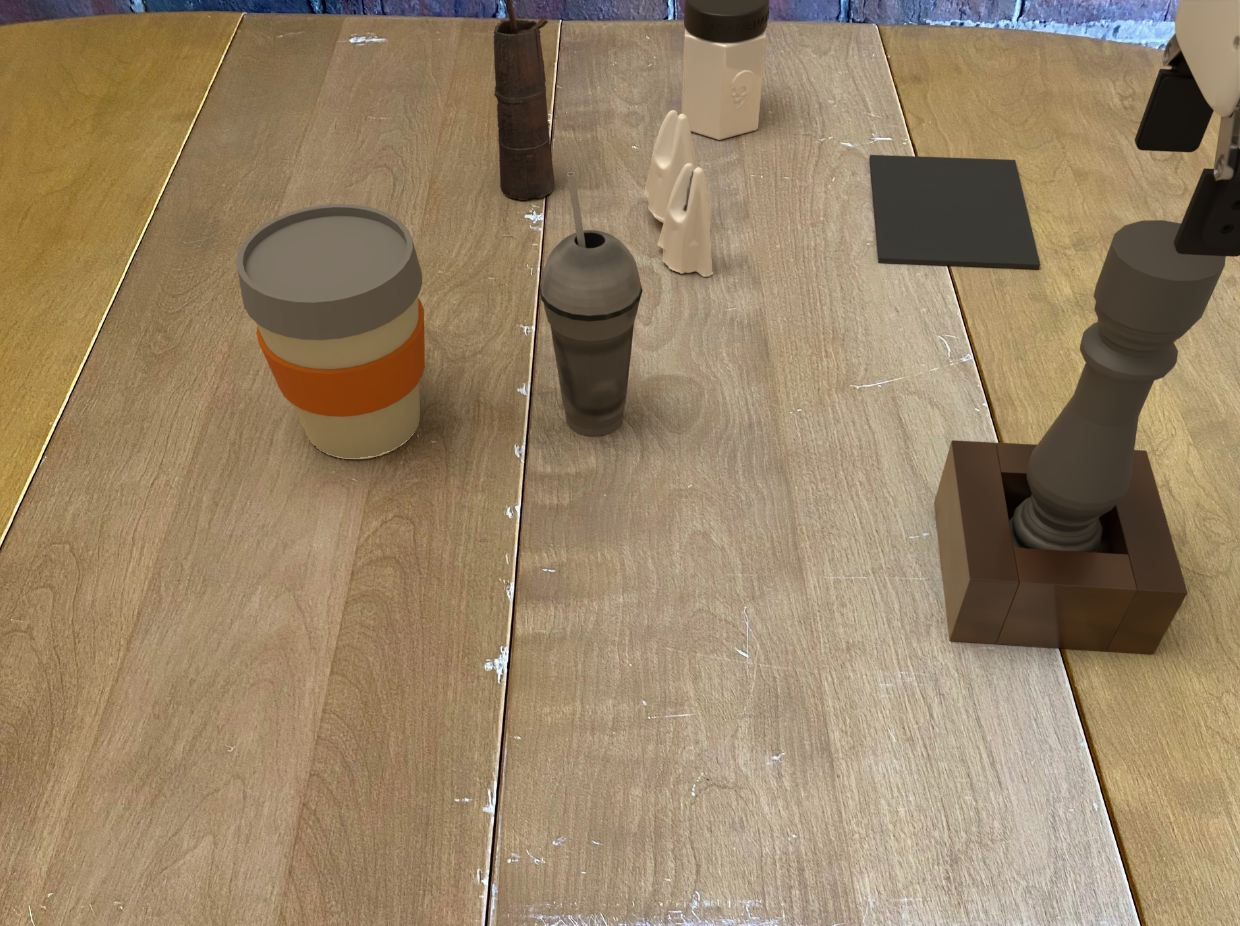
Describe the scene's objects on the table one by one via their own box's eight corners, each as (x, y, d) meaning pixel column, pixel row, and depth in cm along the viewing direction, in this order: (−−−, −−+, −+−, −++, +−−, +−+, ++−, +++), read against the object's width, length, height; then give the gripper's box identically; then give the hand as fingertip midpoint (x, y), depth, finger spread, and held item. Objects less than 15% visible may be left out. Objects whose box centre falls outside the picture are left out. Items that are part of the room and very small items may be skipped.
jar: (701, 147, 118) (707, 23, 108) (662, 112, 122) (665, -10, 113) (777, 126, 120) (790, 3, 111) (736, 93, 125) (746, -29, 116)
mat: (1014, 164, 115) (1015, 159, 114) (1039, 269, 103) (1040, 264, 103) (869, 159, 116) (869, 154, 115) (878, 262, 104) (879, 257, 104)
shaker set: (642, 209, 111) (643, 92, 102) (685, 204, 111) (690, 88, 103) (668, 281, 103) (671, 162, 95) (714, 276, 104) (722, 156, 95)
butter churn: (587, 159, 117) (579, -170, 95) (583, 211, 111) (574, -128, 89) (495, 159, 117) (466, -169, 95) (486, 210, 111) (453, -127, 89)
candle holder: (1066, 622, 78) (1213, 297, 58) (977, 584, 80) (1090, 260, 61) (1096, 564, 81) (1245, 238, 62) (1010, 529, 83) (1127, 205, 64)
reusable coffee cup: (251, 453, 90) (195, 282, 78) (333, 357, 97) (293, 188, 86) (396, 493, 87) (361, 321, 75) (470, 391, 94) (448, 220, 82)
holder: (1118, 513, 84) (1146, 449, 79) (1153, 654, 76) (1188, 593, 71) (933, 503, 85) (951, 439, 80) (949, 641, 77) (970, 579, 72)
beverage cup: (622, 457, 89) (622, 215, 73) (533, 436, 90) (514, 195, 75) (653, 398, 93) (659, 158, 78) (567, 379, 95) (556, 141, 79)
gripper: (1543, -131, 40) (1311, 303, 53) (1379, -271, 51) (1221, 117, 64) (1314, -137, 40) (1140, 294, 54) (1201, -274, 51) (1080, 112, 65)
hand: (1184, 197), depth 59 cm, fingers open, 9 cm apart
